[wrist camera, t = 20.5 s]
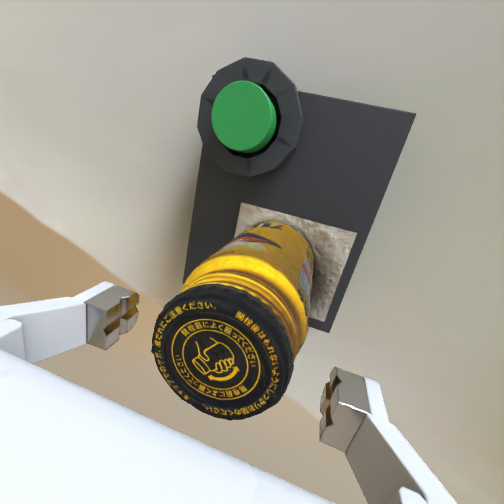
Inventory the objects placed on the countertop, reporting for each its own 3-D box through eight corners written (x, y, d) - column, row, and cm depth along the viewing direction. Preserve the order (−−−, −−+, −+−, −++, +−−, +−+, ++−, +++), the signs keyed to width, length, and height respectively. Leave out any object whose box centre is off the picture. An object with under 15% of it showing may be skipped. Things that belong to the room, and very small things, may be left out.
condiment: (241, 202, 19) (133, 243, 8) (356, 232, 18) (415, 333, 7) (224, 286, 22) (123, 407, 11) (324, 319, 20) (327, 497, 9)
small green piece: (227, 84, 16) (216, 74, 14) (283, 95, 15) (279, 86, 14) (217, 146, 17) (206, 143, 15) (268, 158, 16) (263, 157, 15)
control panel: (234, 81, 21) (202, 49, 15) (401, 114, 19) (435, 90, 13) (202, 267, 27) (171, 292, 21) (327, 307, 24) (329, 347, 19)
